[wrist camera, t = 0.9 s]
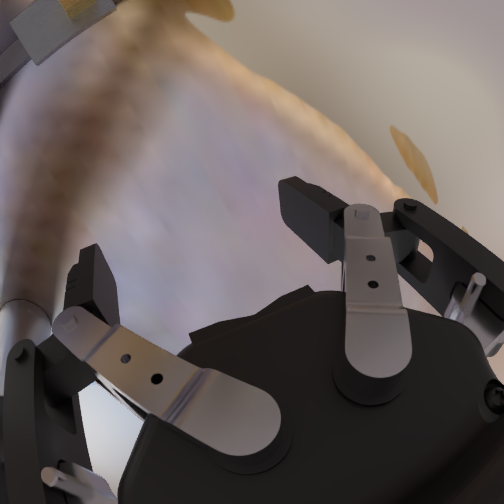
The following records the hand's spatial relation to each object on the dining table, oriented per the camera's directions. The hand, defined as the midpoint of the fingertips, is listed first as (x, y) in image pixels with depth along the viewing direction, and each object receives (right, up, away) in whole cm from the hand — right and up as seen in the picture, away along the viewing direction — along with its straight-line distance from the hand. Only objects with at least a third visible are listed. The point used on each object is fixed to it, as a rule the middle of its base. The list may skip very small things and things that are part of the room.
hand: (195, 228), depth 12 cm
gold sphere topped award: (-18, +25, +8) cm, 32 cm away
